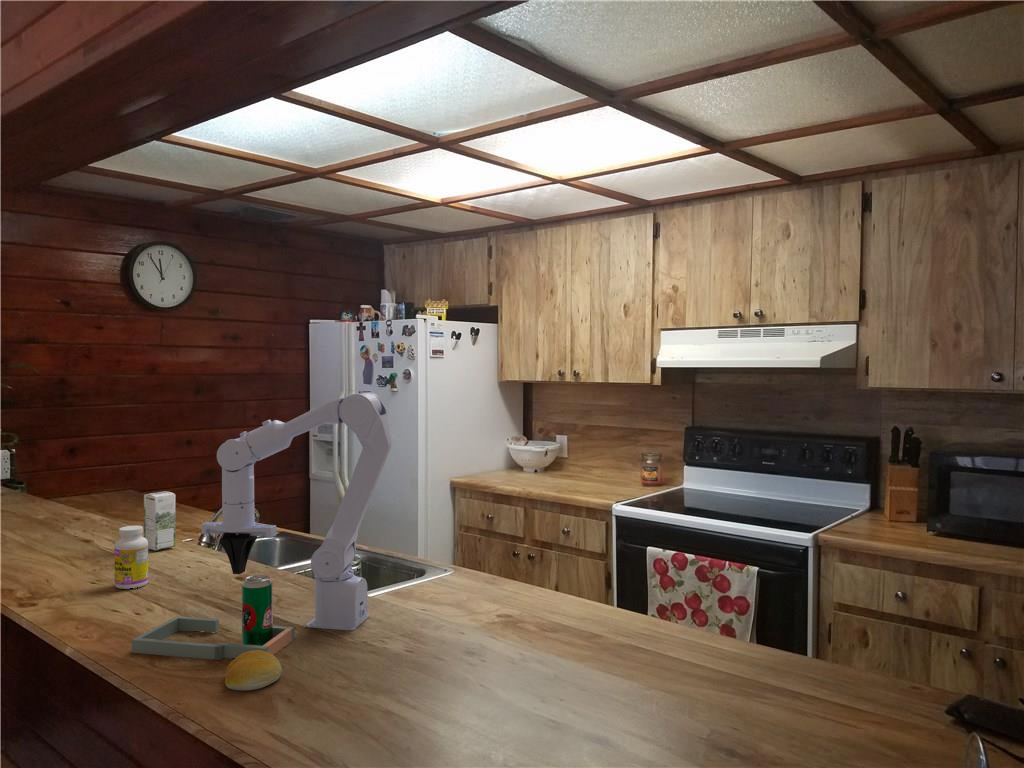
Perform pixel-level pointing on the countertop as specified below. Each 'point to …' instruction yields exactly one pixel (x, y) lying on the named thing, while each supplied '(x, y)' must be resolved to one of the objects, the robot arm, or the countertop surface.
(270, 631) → the soda can
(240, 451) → the robot arm
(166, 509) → the syrup box
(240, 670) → the bread roll
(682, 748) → the countertop surface
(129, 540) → the supplement bottle
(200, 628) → the corral
